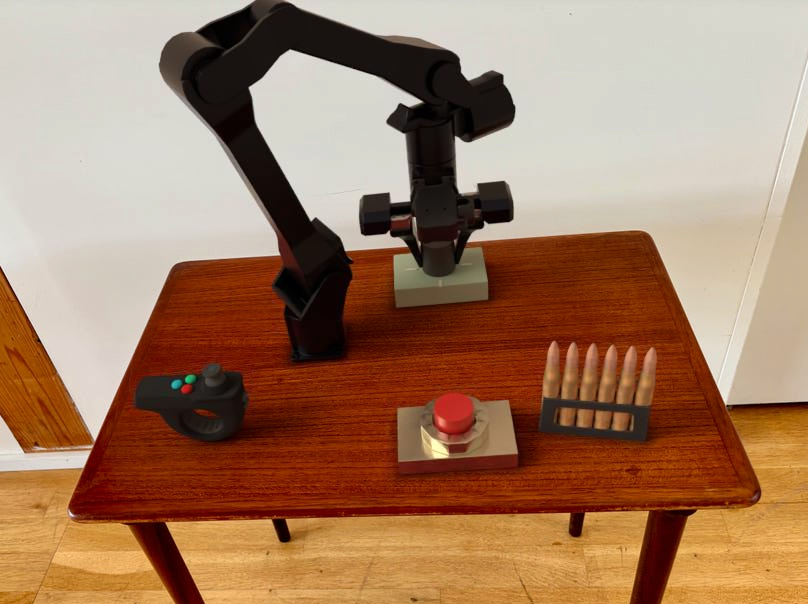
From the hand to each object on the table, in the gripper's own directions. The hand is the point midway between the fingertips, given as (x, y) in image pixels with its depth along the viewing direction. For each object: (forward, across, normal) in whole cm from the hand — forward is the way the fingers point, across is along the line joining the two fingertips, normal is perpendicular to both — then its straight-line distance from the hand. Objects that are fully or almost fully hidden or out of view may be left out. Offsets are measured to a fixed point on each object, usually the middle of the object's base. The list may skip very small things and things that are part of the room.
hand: (438, 264), depth 94 cm
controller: (+4, -28, -24) cm, 37 cm away
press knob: (0, 0, -28) cm, 28 cm away
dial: (0, 0, 0) cm, 0 cm away
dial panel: (+4, 0, 0) cm, 4 cm away
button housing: (+4, 0, -28) cm, 28 cm away
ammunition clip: (+4, +14, -27) cm, 31 cm away
